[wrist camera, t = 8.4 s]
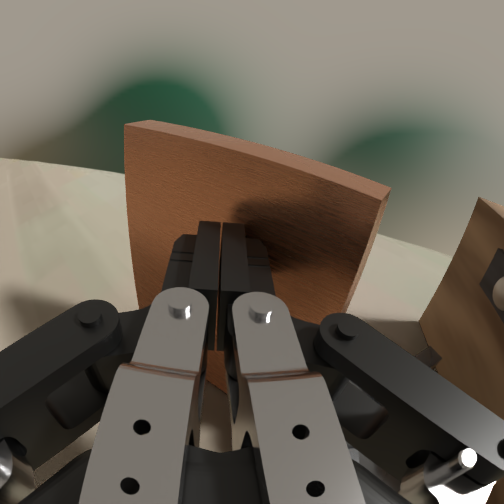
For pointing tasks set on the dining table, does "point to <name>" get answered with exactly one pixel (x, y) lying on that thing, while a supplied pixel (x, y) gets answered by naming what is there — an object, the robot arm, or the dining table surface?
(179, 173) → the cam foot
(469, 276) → the wooden box
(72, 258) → the dining table surface
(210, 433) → the dining table surface
